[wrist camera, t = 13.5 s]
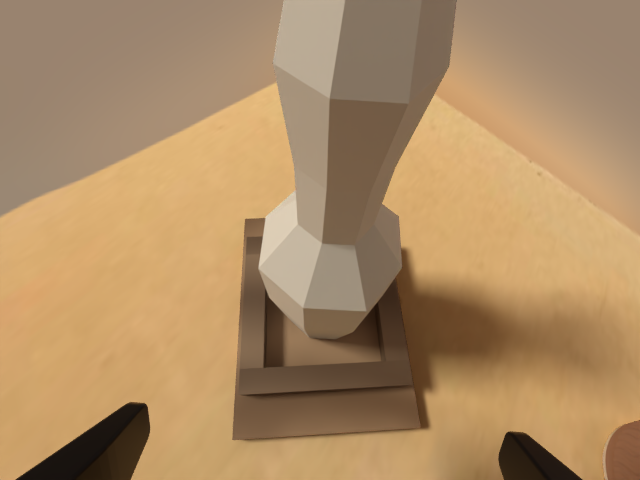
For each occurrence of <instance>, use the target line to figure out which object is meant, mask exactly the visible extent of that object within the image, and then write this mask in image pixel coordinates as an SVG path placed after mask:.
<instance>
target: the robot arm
mask: <svg viewBox="0 0 640 480" xmlns="http://www.w3.org/2000/svg"><path fill="white" fill-rule="evenodd" d="M149 433H150V422H149V414H148V407H147V405H146V404H145V403H137V402H130V403H127V404H125V405H124V406H122V407H121V408H120V409H118V410H117V411H115V412H114V413H112V414H111V415H109V416H108V417H106V418H105V419H103V420H102V421H101V422H99V423H98V424H96V425H95V426H93V427H92V428H90V429H89V430H87V431H86V432H84V433H83V434H81V435H80V436H79V437H77V438H76V439H74V440H73V441H71V442H70V443H68V444H67V445H65V446H64V447H62V448H61V449H60V450H58V451H57V452H55V453H54V454H52V455H51V456H49V457H48V458H46V459H45V460H43V461H42V462H41V463H39V464H38V465H36V466H35V467H33V468H32V469H30V470H29V471H27V472H26V473H24V474H23V475H22V476H20V477H19V478H17V479H16V480H131V477H132V475H133V473H134V470H135V468H136V466H137V463H138V461H139V459H140V456H141V454H142V452H143V449H144V447H145V444H146V442H147V440H148V437H149ZM498 459H499V466H500V469H501V472H502V475H503V478H504V480H582V479H581V478H580V477H579V476H577V475H576V474H575V473H574V472H573V471H571V470H570V469H569V468H568V467H567V466H565V465H564V464H563V463H562V462H560V461H559V460H558V459H557V458H556V457H554V456H553V455H552V454H551V453H549V452H548V451H547V450H546V449H545V448H543V447H542V446H541V445H540V444H538V443H537V442H536V441H535V440H534V439H532V438H531V437H530V436H529V435H527V434H526V433H523V432H511V431H510V432H507V433H506V435H505V437H504V440H503V443H502V446H501V449H500V452H499V458H498Z"/></svg>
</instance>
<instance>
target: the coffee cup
mask: <svg viewBox="0 0 640 480" xmlns="http://www.w3.org/2000/svg"><path fill="white" fill-rule="evenodd" d="M603 471H604V477H605V480H640V420H639V421H634V422H632V423H628V424H624V425H622V426H620V427H618V428H616V429H615V430H614V431H613V432H612V433H611V434H610V435H609V437H608V439H607V441H606V443H605V446H604V451H603Z"/></svg>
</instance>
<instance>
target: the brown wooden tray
mask: <svg viewBox="0 0 640 480" xmlns="http://www.w3.org/2000/svg"><path fill="white" fill-rule="evenodd" d="M265 219H266V218H259V219H245V230H244V247H243V265H242V282H241V300H240V317H239V334H238V352H237V369H236V386H235V404H234V421H233V439H232V440H242V439H257V438H273V437H288V436H303V435H318V434H334V433H349V432H364V431H379V430H395V429H410V428H421V426H420V420H419V414H418V408H417V402H416V396H415V390H414V384H413V378H412V372H411V366H410V360H409V354H408V348H407V342H406V336H405V330H404V324H403V318H402V312H401V306H400V300H399V294H398V288H397V282H396V277H395V279H394V280H393V281H392V283H391V284H390V286H389V287H388V289H387V290H386V291H385V293H384V294H383V296H382V297H381V298H380V299H379V301H378V302H377V303H376V304H375V306H374V307H373V308H372V309H371V311H370V312H369V313H368V314H367V316H366V317H365V318H364V319H363V321H362V322H361V323H360V324H359V326H358V327H357V328H356V329H355V330H354V332H352V333H350V334H347V335H345V336H343V337H340V338H338V339H318V338H309V337H308V336H307V335H306V334H305V333H304V332H303V331H302V330H301V329H299V328H298V327H297V326H296V325H295V324H294V323H293V322H292V321H291V320H290V319H289V318H288V317H287V316H286V315H285V314H284V313H283V312H282V311H281V310H280V309H279V307H278V306H277V305H276V304H275V303H274V302H273V301H272V300H271V299H270V298H269V296H268V293H267V290H266V288H265V285H264V282H263V280H262V277H261V274H260V271H259V269H258V268H259V261H260V254H261V247H262V240H263V233H264V226H265Z"/></svg>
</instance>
